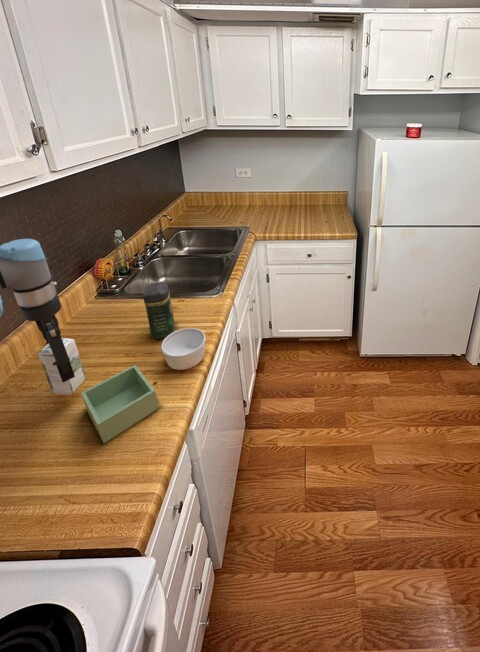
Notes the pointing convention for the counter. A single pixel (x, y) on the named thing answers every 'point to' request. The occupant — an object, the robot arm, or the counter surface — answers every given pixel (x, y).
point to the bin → (120, 402)
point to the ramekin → (184, 348)
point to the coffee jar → (159, 310)
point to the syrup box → (53, 373)
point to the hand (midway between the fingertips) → (64, 370)
